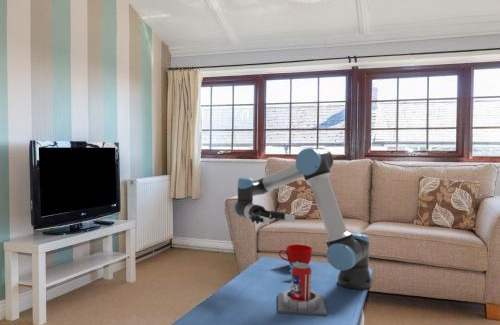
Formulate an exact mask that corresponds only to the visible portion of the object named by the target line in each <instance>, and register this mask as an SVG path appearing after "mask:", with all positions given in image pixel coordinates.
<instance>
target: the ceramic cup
mask: <svg viewBox="0 0 500 325" xmlns="http://www.w3.org/2000/svg"><path fill="white" fill-rule="evenodd" d="M283 252H285V253H286V258H285V257H283V256H282V253H283ZM278 255H279V258H281V260H284V261H287V262H289V265H292V264H291V263H292V262H294V263H295V262H296V261H297V262H299V263H306V264H309V265H310V262H311V260H312V255H313V248H312V247H311V246H310V245H304V244H289V245H287V246H286V250H285V249H281V250H279V252H278ZM292 267H293V265H292Z"/></svg>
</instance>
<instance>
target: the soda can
mask: <svg viewBox="0 0 500 325" xmlns="http://www.w3.org/2000/svg"><path fill="white" fill-rule="evenodd" d="M290 269H291V268H290ZM290 289H291V298H292V299H296V300H311V291H312V268H311V266H310V263H309V264H306V263H295V264H293V267H292V269H291V273H290Z"/></svg>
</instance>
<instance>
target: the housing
mask: <svg viewBox="0 0 500 325" xmlns="http://www.w3.org/2000/svg"><path fill="white" fill-rule="evenodd" d="M277 307H278V308H277V312H278V314H286V315H287V314H288V315H308V316H328V311H327V309H326V308H327V307H326V304H325V302H324V299H323V296H322V294H319V293H318V292H316V291H314V290H311V300H296V299H292V298H291V288H290V289H287V290H285V291H283V293H282V292H281V293H279V292H278V293H277Z"/></svg>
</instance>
